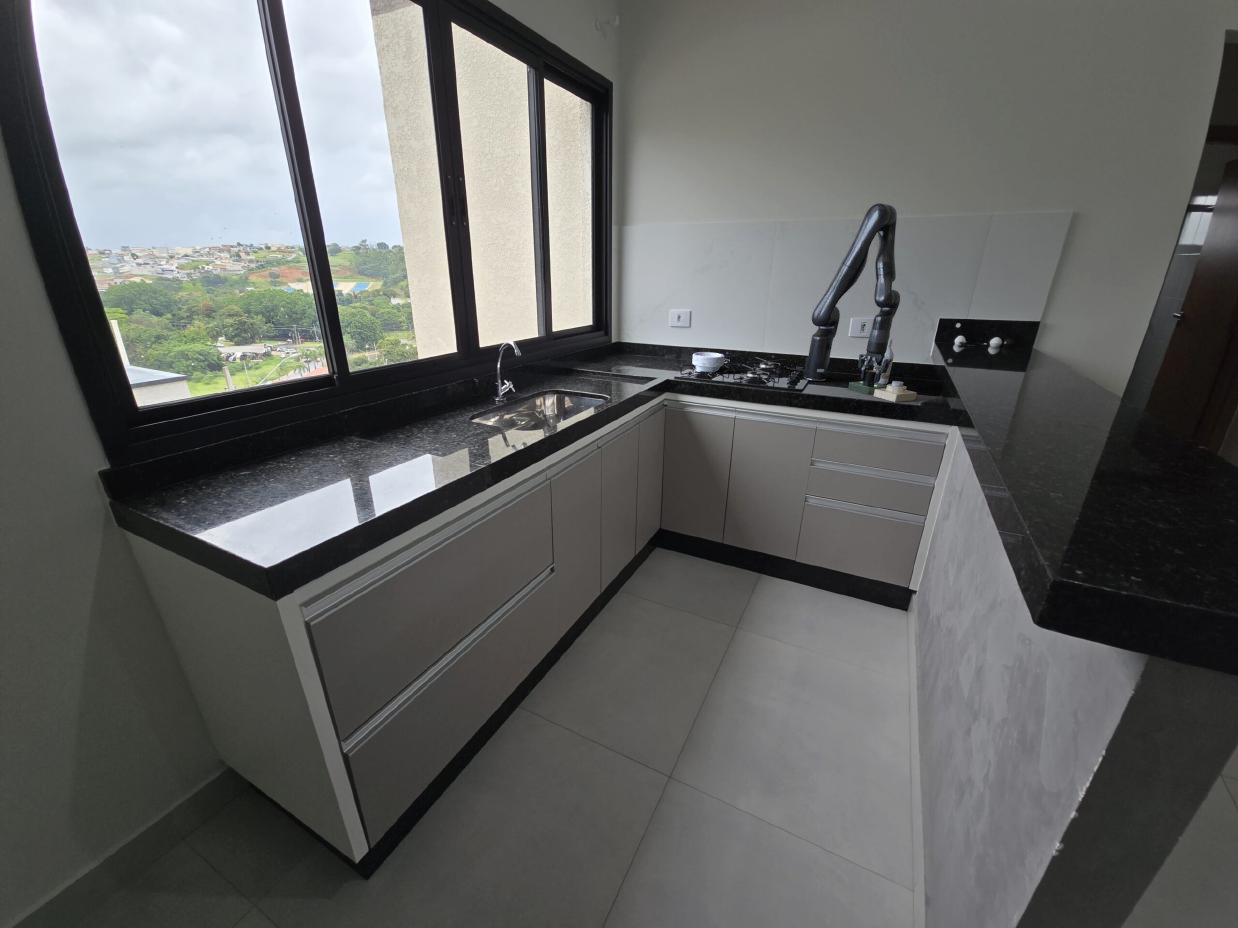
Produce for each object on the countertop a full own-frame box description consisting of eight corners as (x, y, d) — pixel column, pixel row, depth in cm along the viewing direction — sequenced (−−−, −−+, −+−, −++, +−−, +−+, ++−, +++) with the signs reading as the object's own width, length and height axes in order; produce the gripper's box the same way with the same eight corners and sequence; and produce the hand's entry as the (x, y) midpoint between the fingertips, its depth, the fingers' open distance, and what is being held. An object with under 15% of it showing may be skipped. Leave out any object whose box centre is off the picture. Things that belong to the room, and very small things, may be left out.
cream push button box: (873, 396, 207) (876, 384, 206) (893, 394, 212) (896, 382, 210) (895, 402, 199) (898, 389, 197) (915, 399, 204) (918, 387, 202)
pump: (889, 386, 205) (890, 381, 204) (895, 385, 206) (896, 380, 206) (897, 388, 201) (899, 383, 201) (904, 387, 203) (905, 382, 202)
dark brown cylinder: (860, 383, 216) (863, 369, 214) (868, 382, 218) (871, 369, 216) (869, 385, 213) (872, 371, 211) (876, 384, 214) (879, 371, 212)
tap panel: (847, 389, 218) (849, 382, 217) (867, 387, 223) (868, 380, 222) (867, 394, 210) (868, 387, 209) (887, 392, 215) (888, 385, 214)
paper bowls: (725, 373, 239) (727, 356, 236) (693, 373, 239) (694, 356, 237) (720, 368, 253) (721, 352, 251) (690, 367, 254) (691, 351, 251)
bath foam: (882, 385, 230) (892, 340, 223) (867, 382, 235) (877, 338, 228) (890, 383, 233) (900, 339, 226) (876, 380, 239) (886, 337, 232)
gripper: (900, 343, 204) (890, 384, 210) (870, 338, 216) (861, 377, 222) (887, 343, 201) (877, 385, 207) (857, 338, 213) (849, 378, 219)
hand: (869, 380), depth 215 cm, fingers open, 5 cm apart
